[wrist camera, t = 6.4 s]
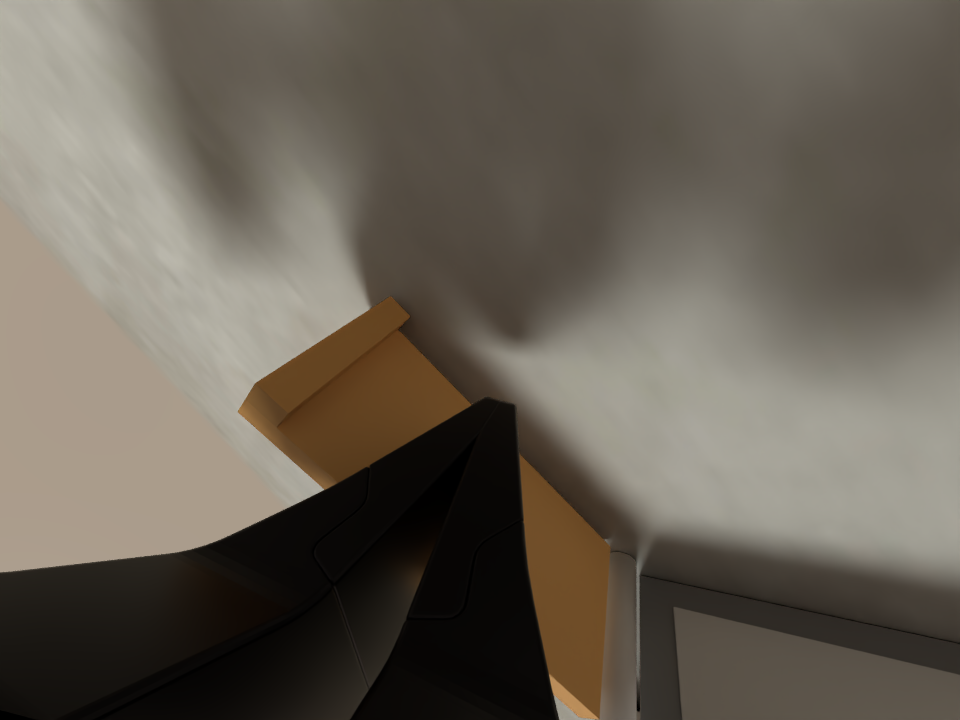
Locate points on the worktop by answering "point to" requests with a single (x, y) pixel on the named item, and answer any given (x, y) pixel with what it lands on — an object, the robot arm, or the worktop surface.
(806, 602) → the worktop surface
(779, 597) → the worktop surface
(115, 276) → the worktop surface
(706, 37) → the worktop surface
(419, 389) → the brown rectangular block
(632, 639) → the case
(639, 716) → the camera
